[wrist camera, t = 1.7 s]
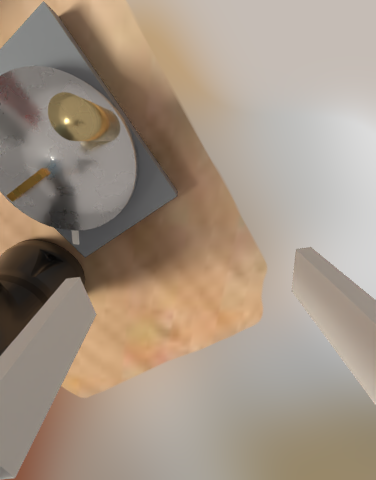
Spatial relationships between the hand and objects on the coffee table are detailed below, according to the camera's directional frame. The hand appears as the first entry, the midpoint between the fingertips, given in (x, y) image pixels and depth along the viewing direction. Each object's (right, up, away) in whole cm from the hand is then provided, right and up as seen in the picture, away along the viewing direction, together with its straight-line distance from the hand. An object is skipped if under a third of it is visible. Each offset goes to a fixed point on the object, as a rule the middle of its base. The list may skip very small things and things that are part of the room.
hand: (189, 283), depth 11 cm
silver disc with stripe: (-17, +14, +18) cm, 29 cm away
